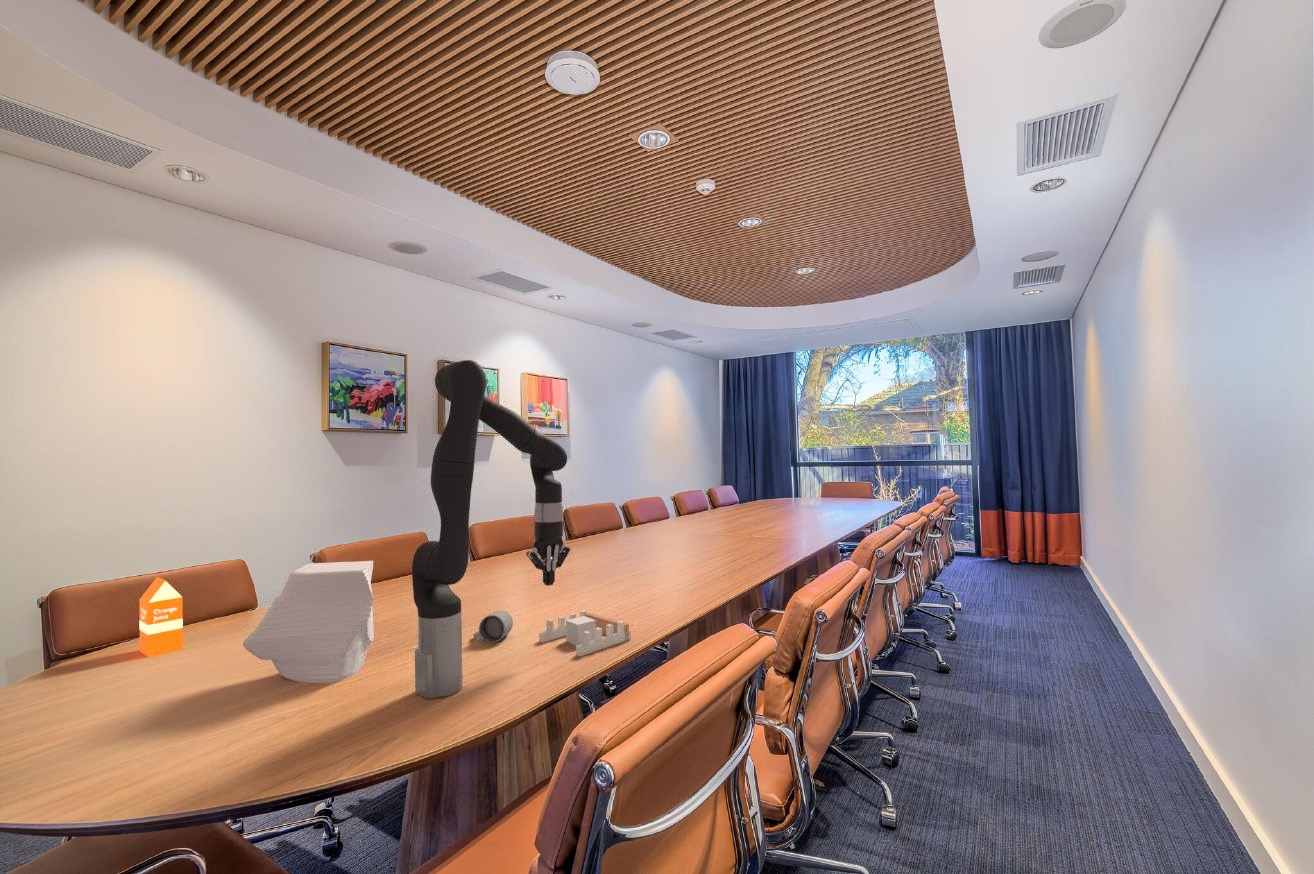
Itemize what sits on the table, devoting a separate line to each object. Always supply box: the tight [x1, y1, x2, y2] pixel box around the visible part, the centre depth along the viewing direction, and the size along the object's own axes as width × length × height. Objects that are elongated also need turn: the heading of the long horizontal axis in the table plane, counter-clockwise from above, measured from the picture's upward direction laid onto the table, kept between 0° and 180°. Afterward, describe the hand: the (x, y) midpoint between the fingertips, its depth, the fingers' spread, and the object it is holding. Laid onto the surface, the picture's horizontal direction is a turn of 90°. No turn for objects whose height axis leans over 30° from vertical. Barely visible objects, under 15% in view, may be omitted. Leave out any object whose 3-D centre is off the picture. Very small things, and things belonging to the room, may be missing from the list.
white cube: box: [565, 616, 596, 647], centre depth 163 cm, size 6×6×6 cm
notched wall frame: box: [539, 609, 632, 657], centre depth 164 cm, size 18×18×5 cm
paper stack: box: [242, 560, 375, 684], centre depth 147 cm, size 21×27×26 cm
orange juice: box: [138, 576, 184, 658], centre depth 164 cm, size 8×9×20 cm
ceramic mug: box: [472, 610, 514, 644], centre depth 168 cm, size 11×8×8 cm
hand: (548, 584), depth 156 cm, fingers closed
